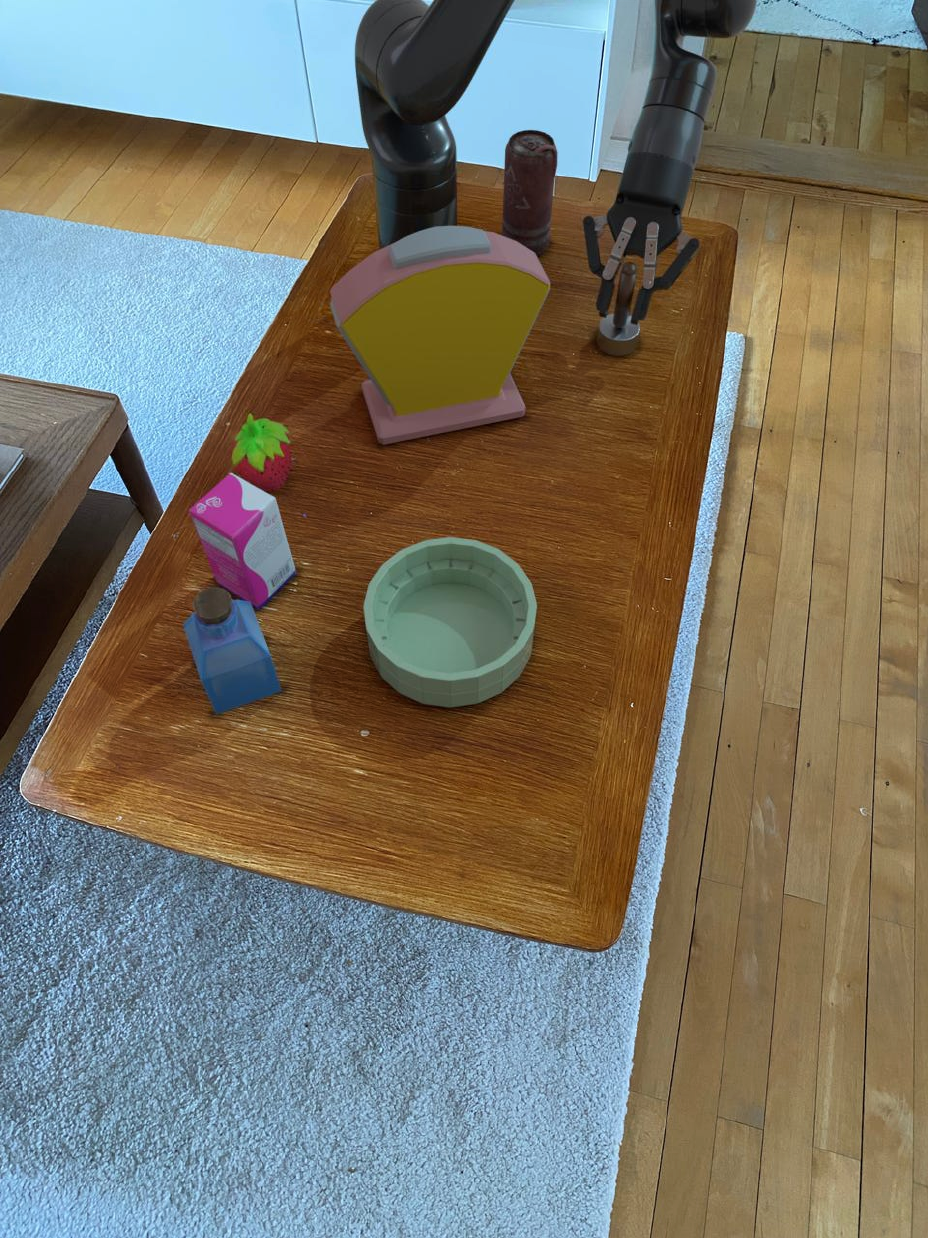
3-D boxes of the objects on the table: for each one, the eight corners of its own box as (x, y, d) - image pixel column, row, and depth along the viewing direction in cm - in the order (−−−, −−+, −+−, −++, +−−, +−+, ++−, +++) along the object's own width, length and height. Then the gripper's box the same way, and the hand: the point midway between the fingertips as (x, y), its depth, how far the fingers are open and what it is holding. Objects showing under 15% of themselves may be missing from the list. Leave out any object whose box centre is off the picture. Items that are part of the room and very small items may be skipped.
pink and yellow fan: (523, 359, 114) (535, 190, 96) (548, 414, 109) (565, 246, 91) (339, 395, 111) (316, 227, 93) (356, 453, 106) (335, 287, 88)
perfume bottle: (198, 660, 91) (166, 586, 81) (262, 638, 93) (238, 563, 83) (216, 714, 88) (184, 644, 78) (281, 691, 89) (259, 619, 79)
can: (546, 262, 124) (555, 159, 112) (497, 256, 125) (501, 152, 113) (554, 234, 127) (563, 130, 116) (506, 228, 128) (510, 124, 116)
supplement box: (253, 545, 99) (231, 468, 89) (298, 573, 97) (279, 497, 87) (213, 583, 96) (186, 508, 87) (258, 612, 94) (235, 539, 85)
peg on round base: (592, 331, 117) (603, 251, 108) (631, 326, 117) (645, 247, 108) (602, 358, 114) (614, 279, 105) (641, 353, 115) (657, 274, 105)
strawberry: (229, 504, 102) (208, 436, 93) (259, 454, 106) (242, 385, 97) (280, 518, 101) (263, 450, 92) (309, 467, 105) (295, 398, 96)
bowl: (360, 582, 96) (355, 548, 92) (515, 562, 98) (517, 528, 93) (378, 721, 88) (374, 691, 83) (547, 697, 89) (552, 666, 85)
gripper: (723, 182, 109) (679, 337, 113) (602, 158, 112) (563, 310, 115) (725, 163, 102) (677, 330, 106) (595, 138, 104) (553, 301, 108)
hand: (618, 319), depth 111 cm, fingers open, 3 cm apart
